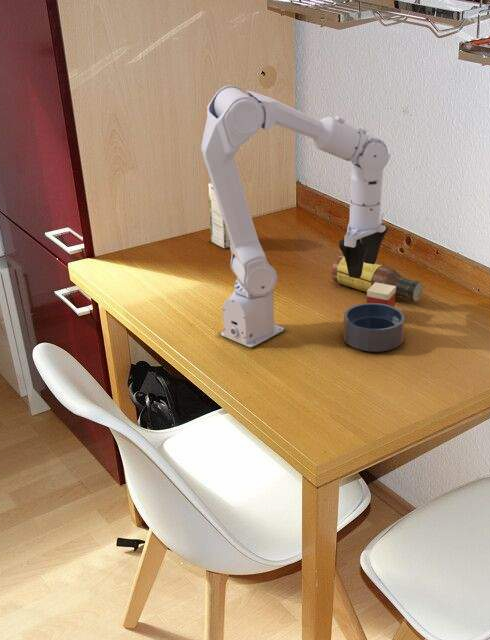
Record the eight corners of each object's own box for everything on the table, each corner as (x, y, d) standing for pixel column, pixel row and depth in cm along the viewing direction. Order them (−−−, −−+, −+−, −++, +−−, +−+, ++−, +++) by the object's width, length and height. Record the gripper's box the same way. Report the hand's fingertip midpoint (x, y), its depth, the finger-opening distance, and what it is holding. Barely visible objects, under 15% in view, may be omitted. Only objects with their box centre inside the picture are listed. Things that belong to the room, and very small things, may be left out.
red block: (386, 322, 162) (388, 294, 159) (365, 318, 163) (367, 290, 160) (394, 313, 165) (396, 286, 162) (373, 309, 167) (375, 282, 164)
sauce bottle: (343, 280, 180) (421, 308, 171) (327, 282, 175) (406, 311, 166) (349, 251, 178) (429, 277, 168) (333, 252, 173) (414, 280, 163)
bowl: (379, 360, 149) (381, 336, 146) (331, 341, 155) (331, 317, 152) (414, 338, 157) (416, 314, 154) (366, 321, 162) (368, 297, 160)
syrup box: (231, 236, 199) (228, 177, 192) (245, 244, 196) (242, 183, 188) (210, 242, 196) (207, 181, 188) (224, 249, 192) (221, 188, 185)
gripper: (371, 216, 145) (367, 287, 152) (399, 193, 156) (394, 260, 164) (334, 210, 148) (332, 280, 155) (364, 187, 159) (361, 254, 166)
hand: (362, 270), depth 159 cm, fingers open, 7 cm apart
